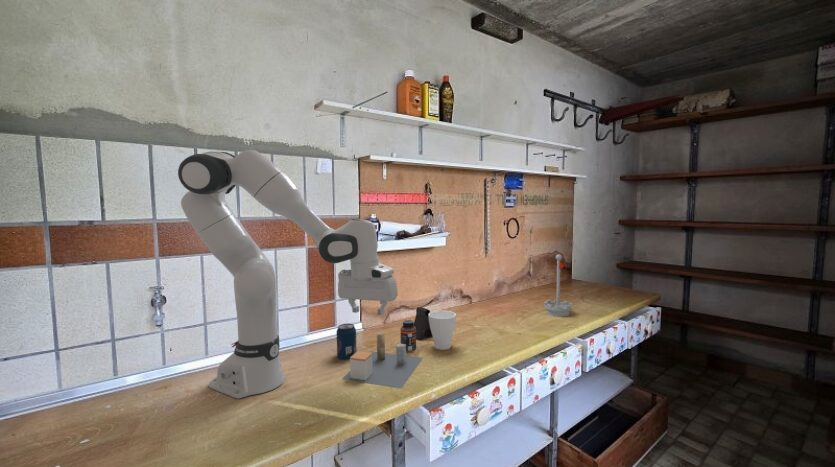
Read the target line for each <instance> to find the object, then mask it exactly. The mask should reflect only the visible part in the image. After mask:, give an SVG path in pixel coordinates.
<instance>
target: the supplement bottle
mask: <svg viewBox="0 0 835 467" xmlns="http://www.w3.org/2000/svg"><path fill="white" fill-rule="evenodd" d="M400 344H406V352H411V351H415V350H416V349H417V339H416V327H415V326H414V320H412V319H405V320H403V322H402V326H401V327H400Z"/></svg>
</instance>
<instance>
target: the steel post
mask: <svg viewBox="0 0 835 467" xmlns="http://www.w3.org/2000/svg"><path fill="white" fill-rule="evenodd" d="M395 349H396V361H397V364H400V365H404V364H405V363H406V356H407V351H406V344H401V343H398V344H397V345H396V348H395Z"/></svg>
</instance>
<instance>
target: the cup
mask: <svg viewBox="0 0 835 467" xmlns="http://www.w3.org/2000/svg"><path fill="white" fill-rule="evenodd" d="M428 316H429V324H430V329H431V332H432V336H433V337H432V339H433V346H434V348H435V349H436V350H445V351H446V350H449V349H450V348H451V347H452V346H451V345H452V339H453V335H454V331H455V326H456V319H457V314H456V312H453V311H450V310H440V309H439V310H434V311H430V313H429V315H428Z"/></svg>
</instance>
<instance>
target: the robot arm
mask: <svg viewBox="0 0 835 467" xmlns="http://www.w3.org/2000/svg"><path fill="white" fill-rule="evenodd" d="M177 176H178V180H179V182H180V183H181V185H182V186H183V187H184V188H185V189H186V190H188V191H187V192H185V194H184V195H183V197H182V198H181V201H180V206H181V209H182V212H183V213H184V215H185V217H186V218H187V220H188V222H189V224H190V225H191V227H192V229H194V231H195V232H196V234H197V236H198V237H199V238H200V239H201V241H202V242H203V243H204V244H205V246H206V247H207V248H208V250H209V251H210V253H211V254H212V255H213V257H215V259H217V260H218V261H219V262H220V263H221V265H223V266H224V267H225V268H226V270H228V272H229V273H230V274H231V275H232V276H233V290H234V303H235V310H236V319H237V338H238V339H237V340H236V341H235V342H233V343H231V345H232V346H231V348H234V347H235V348H234V351H233V352H232V353H231V354H230V355H229V356H228V357H227V358H225V359H224V360H223V361H222V362H220V363H219V365H218V367H217V375H216V376H215V377H214V378H212V379H211V380H210V382H209V383H208V388H210V389H212V390H214V391H217V392H218V393H222V394H224V395H227V396H229V397H232V398H234V399H241V398H245V397H248V396H252V395H253V396H254V395H260V394H263V393H267V392H270V391H272V390H274V389H276V388H278V387H279V386H282V384H283V383H284V382H285V380H286V376H285V374H284V371H283V367H282V363H281V357H280V337H279V336H280V335H279V334H278V320H277V319H278V316H277V315H278V314H277V289H276V288H277V285H276V281H277V280H276V275H275V274H276V273H275V268H274V265H273V264H272V263H271V261H270V260H269V259H268V257H267V256H266V255H265V253H264V252H263V251H262V250H261V248H260V246H258V244H257V243H256V241H255V240H254V239H253V238H252V237H251V236H250V234H249V232H248V231H247V230H246V229H245V227H244V226H243V224H242V222H240V220H239V219H238V217H237V216H236V214H235V213H234V212H233V210H232V209H231V208H230V205H228V203H227V201H226V195H228V194H230V193H231V192H232V191H233V189H234V188H235V187H236V186H238V187H241V188H242V189H244V190H245V192H247V193H248V194H249V195H250V196H251V197H253V199H255V200H256V201H257V202H258V203H259V204H261V206H263V207H265V208H266V209H267V210H269V211H270V212H272V213H274V214H277V215H279V216H282V217H284V218H287V220H288V219H289V220H290V221H292V222H294V223H295V224H296V225H297V226H298V227H299V228H300V229H301V230H303V231H304V232H305V233H306V234H307V235H308V237H310V238H311V239H312V240H313V242H314V243H315V245H316V247H317V251H318V252H319V255H320V257H321V258H322V259H323V260H324V261H325V262H327V263H330V264H340V263H343V262H346V261H349V260H350V262H349V263H350V269H342V270H340V271H339V273H338V275H337V276H338V283H337V294H338V295H337V296H338V297H339V299H342V300H343V299H344V300H348V304H349V306H350V307H351V310H352V313H355V314H357V313H359V312H360V306H359V305H357V303H356V300H359V301H373V302H374V301H375V302H379V304H380V305H381V306H380V307H379V308H377V315H378V316H379V315H380V316H383V315H385V308H386V306H387V304H388V302H390V303H391V302H393V301H395V300H396V299H397V298H398V286H397V281H396V278H395V277H394V273H395V268H393V267H391V266H389V265H386V264H383V263H381V262H380V260H379V259H380V258H379V256H378V248H379V246H378V235H377V228H376V225H375V224H374V223H373V222H372V221H371V220H368V219H367V220H366V219H362V218H361V219H360V218H352V219H350V220H349V221H348V222H346V223H345V224H343V225H341V226H340V227H337V228H333V227H331V226H329V225H327V223H325V222H324V221H323V220H322V219H321V218H320V217H319V216H318V215H316V213H315V212H314V211H312V209H311V208H310V207H309V206H308V205H307V204H306V201H305V200H304V198H303V196H302V194H301V193H300V190H299V189H298V187H297V186H296V184H295V183H294V182H293V180H292V179H290V177H289V176H288V175H287V174H286V173H285V172H284V171H283V170H282V169H281V168H280V167H279V166H278V165H277V164H275V162H272V161H271V160H270V159H269V158H268V157H267V156H265V155H263V154H262V153H260V152H259V151H257V150H254V149H246V150H243V151H241V152H239V153H238V154H237V155H234V154H232V153H229V152H226V151H205V152H203V153H195V154H192V155H189V156H188V157H186V158H184V159H183V160H182V161H181V163H180V164H179V166H178V169H177Z"/></svg>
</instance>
